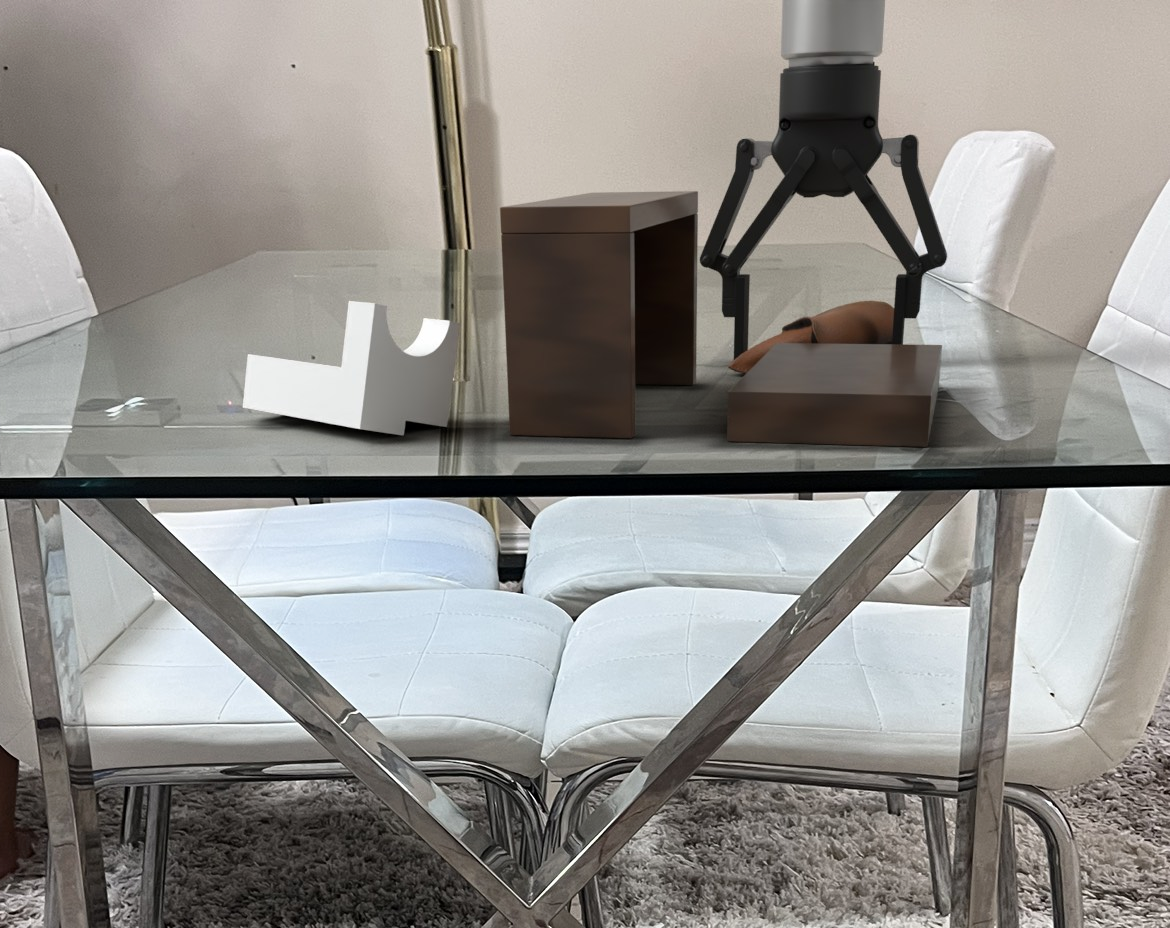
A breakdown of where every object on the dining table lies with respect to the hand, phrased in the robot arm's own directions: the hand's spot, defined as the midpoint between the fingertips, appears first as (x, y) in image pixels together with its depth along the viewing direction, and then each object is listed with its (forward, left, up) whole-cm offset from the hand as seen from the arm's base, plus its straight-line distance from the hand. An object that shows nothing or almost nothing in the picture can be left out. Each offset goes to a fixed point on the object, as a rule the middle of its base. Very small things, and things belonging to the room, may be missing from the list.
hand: (817, 360), depth 114 cm
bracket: (+28, +30, 0) cm, 41 cm away
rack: (+3, +22, 0) cm, 22 cm away
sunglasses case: (0, 0, 0) cm, 0 cm away
